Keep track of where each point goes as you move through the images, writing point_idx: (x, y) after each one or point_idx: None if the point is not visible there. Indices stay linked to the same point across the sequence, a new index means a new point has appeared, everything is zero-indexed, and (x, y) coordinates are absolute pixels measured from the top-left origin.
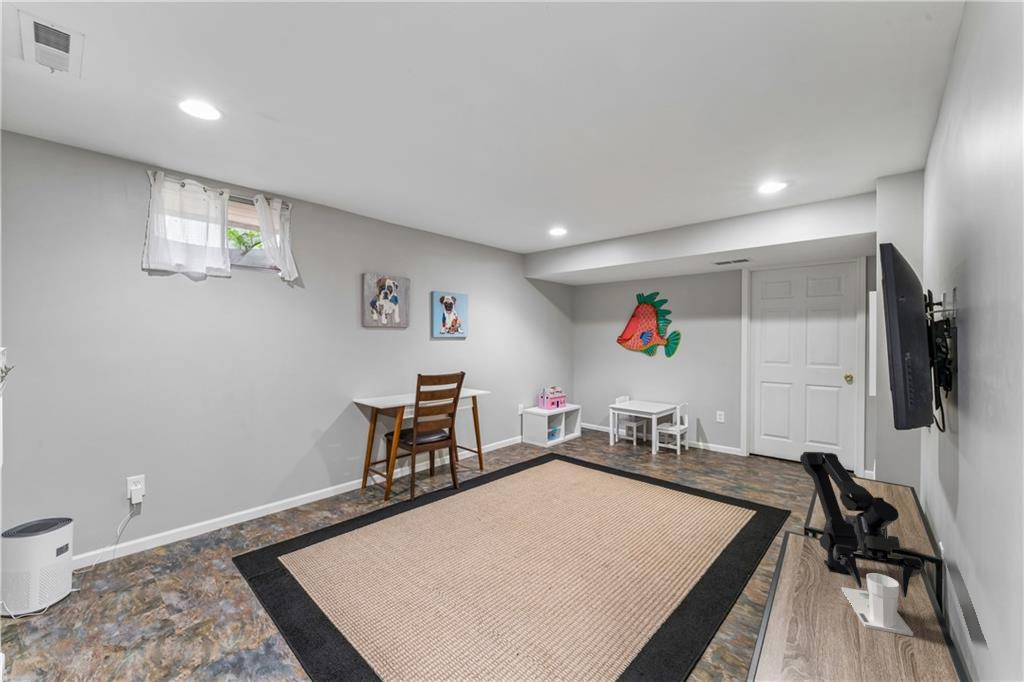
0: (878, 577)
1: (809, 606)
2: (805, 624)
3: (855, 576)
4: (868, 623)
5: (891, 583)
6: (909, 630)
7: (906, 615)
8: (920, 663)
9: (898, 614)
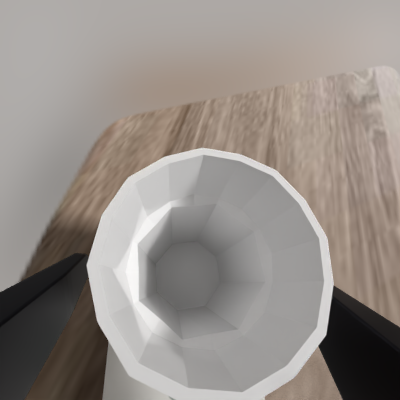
0: (214, 373)
1: (373, 296)
2: (367, 197)
3: (376, 315)
4: None
5: (127, 318)
6: None
7: (67, 392)
8: (162, 132)
9: (108, 357)
